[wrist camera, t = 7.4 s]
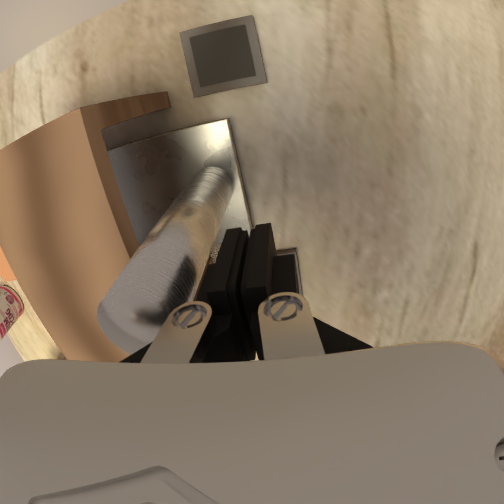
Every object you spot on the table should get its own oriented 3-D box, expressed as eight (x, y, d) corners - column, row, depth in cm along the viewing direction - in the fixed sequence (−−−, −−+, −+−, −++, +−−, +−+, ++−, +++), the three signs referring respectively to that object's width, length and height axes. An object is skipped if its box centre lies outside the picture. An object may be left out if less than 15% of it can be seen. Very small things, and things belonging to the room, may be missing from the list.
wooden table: (252, 17, 17) (228, -40, 7) (302, 296, 28) (308, 403, 18) (-24, 137, 22) (-102, 176, 12) (52, 315, 33) (6, 381, 23)
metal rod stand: (228, 118, 21) (139, 190, 7) (253, 233, 25) (226, 405, 12) (4, 191, 24) (-102, 272, 11) (36, 266, 29) (-46, 364, 16)
